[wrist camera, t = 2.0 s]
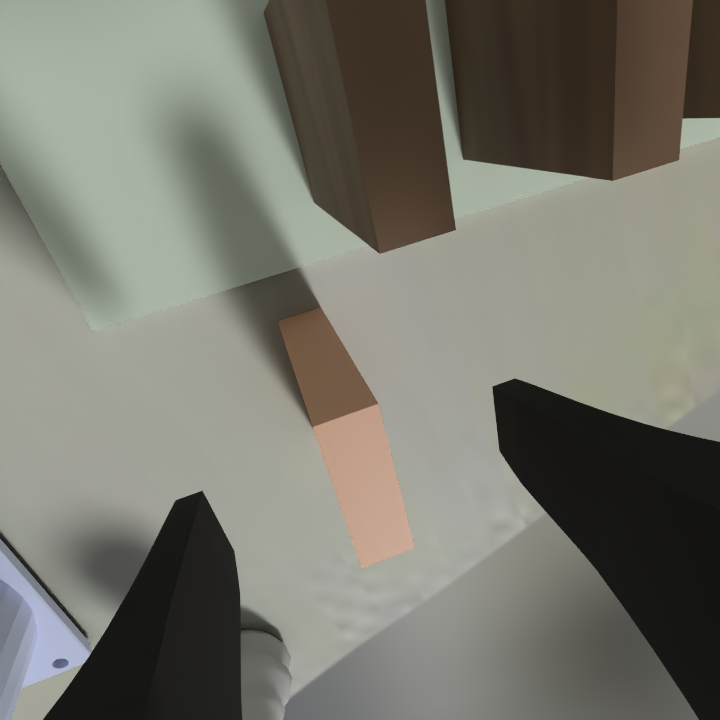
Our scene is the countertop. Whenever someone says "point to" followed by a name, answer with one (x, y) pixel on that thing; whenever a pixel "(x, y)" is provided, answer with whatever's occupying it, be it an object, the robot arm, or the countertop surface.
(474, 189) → the sage mat
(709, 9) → the domino
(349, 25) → the domino
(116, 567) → the countertop surface
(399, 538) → the terracotta domino
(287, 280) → the countertop surface
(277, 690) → the rook chess piece
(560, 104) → the domino
